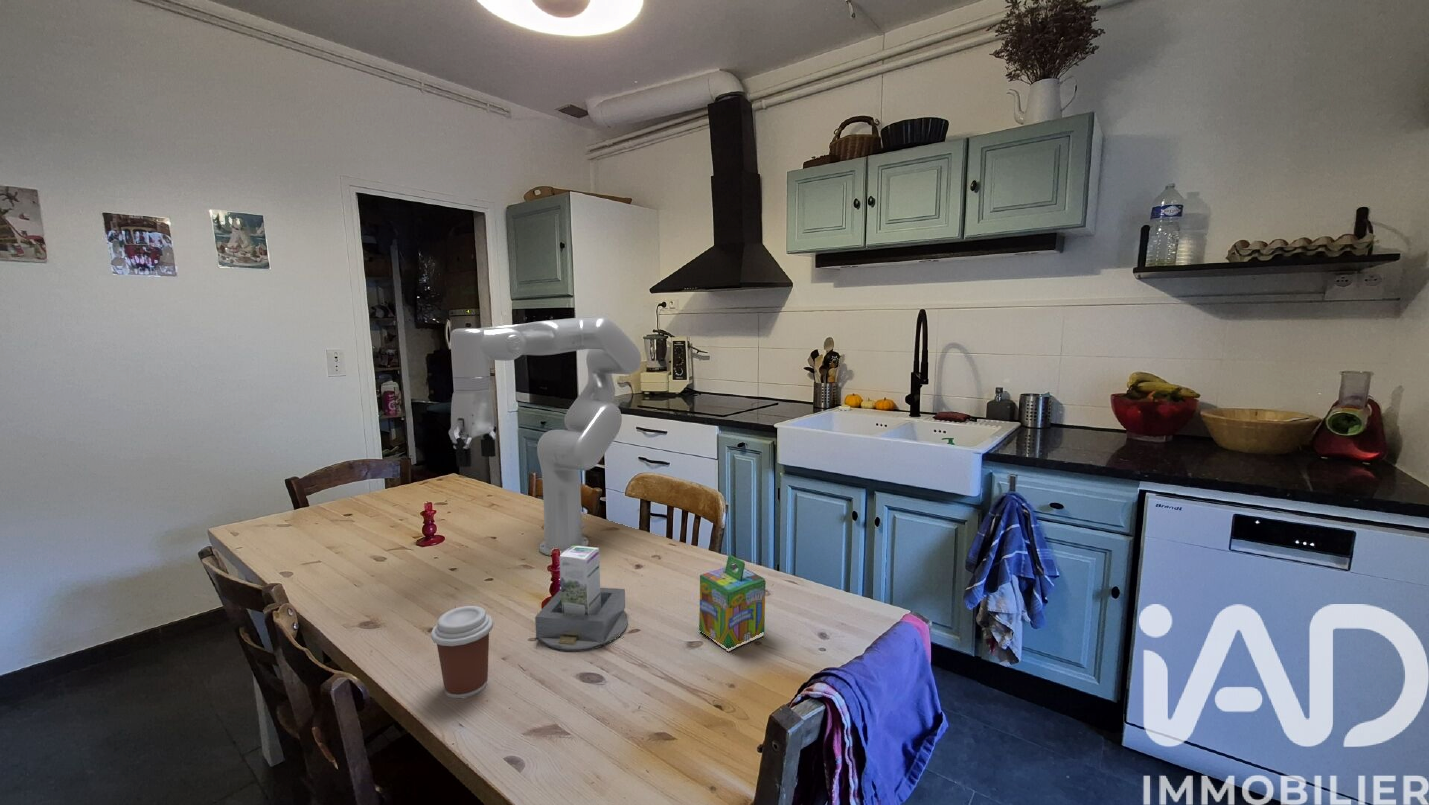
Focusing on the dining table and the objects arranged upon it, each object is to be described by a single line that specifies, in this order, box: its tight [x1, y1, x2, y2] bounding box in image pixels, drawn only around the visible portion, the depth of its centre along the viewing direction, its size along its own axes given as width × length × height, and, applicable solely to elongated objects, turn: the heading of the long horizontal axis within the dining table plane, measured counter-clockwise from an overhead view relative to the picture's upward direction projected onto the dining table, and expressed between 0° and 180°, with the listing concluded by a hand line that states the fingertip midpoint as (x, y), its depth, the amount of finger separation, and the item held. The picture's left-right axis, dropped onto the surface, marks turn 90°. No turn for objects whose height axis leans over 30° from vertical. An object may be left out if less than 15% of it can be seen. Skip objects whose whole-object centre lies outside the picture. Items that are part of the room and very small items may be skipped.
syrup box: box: [558, 545, 601, 615], centre depth 108 cm, size 6×6×14 cm
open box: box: [534, 587, 628, 652], centre depth 108 cm, size 17×17×5 cm
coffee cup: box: [430, 605, 494, 699], centre depth 90 cm, size 9×9×12 cm
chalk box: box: [698, 555, 767, 649], centre depth 105 cm, size 9×9×15 cm
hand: (476, 461), depth 125 cm, fingers open, 9 cm apart
